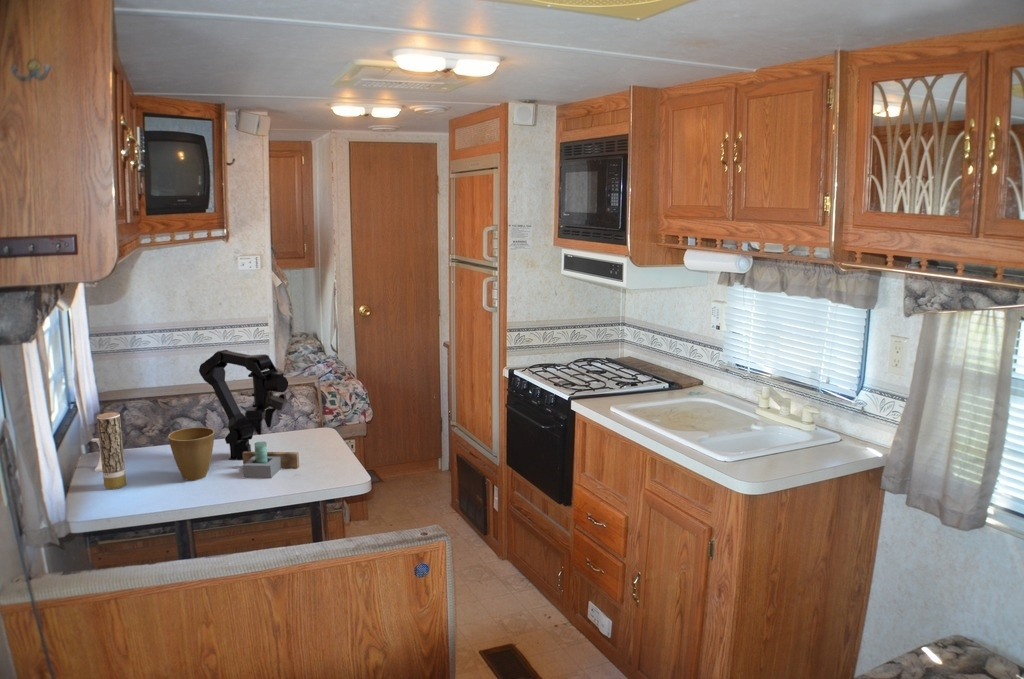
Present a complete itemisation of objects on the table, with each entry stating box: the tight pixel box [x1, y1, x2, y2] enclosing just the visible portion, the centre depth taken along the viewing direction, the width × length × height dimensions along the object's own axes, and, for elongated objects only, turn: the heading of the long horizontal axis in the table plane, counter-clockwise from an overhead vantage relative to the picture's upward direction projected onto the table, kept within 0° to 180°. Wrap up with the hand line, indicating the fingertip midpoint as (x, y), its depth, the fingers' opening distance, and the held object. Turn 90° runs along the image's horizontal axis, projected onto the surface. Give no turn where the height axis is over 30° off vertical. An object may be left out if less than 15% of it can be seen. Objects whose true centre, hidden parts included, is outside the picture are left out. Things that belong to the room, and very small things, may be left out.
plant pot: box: [167, 426, 215, 482], centre depth 270 cm, size 15×15×16 cm
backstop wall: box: [242, 451, 300, 470], centre depth 280 cm, size 20×2×6 cm, turn 86°
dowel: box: [254, 441, 268, 464], centre depth 274 cm, size 4×4×11 cm
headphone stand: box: [90, 438, 103, 473], centre depth 279 cm, size 5×6×12 cm
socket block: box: [241, 456, 282, 479], centre depth 275 cm, size 10×10×4 cm
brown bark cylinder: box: [96, 411, 127, 490], centre depth 261 cm, size 7×7×25 cm
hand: (264, 430), depth 284 cm, fingers open, 9 cm apart
